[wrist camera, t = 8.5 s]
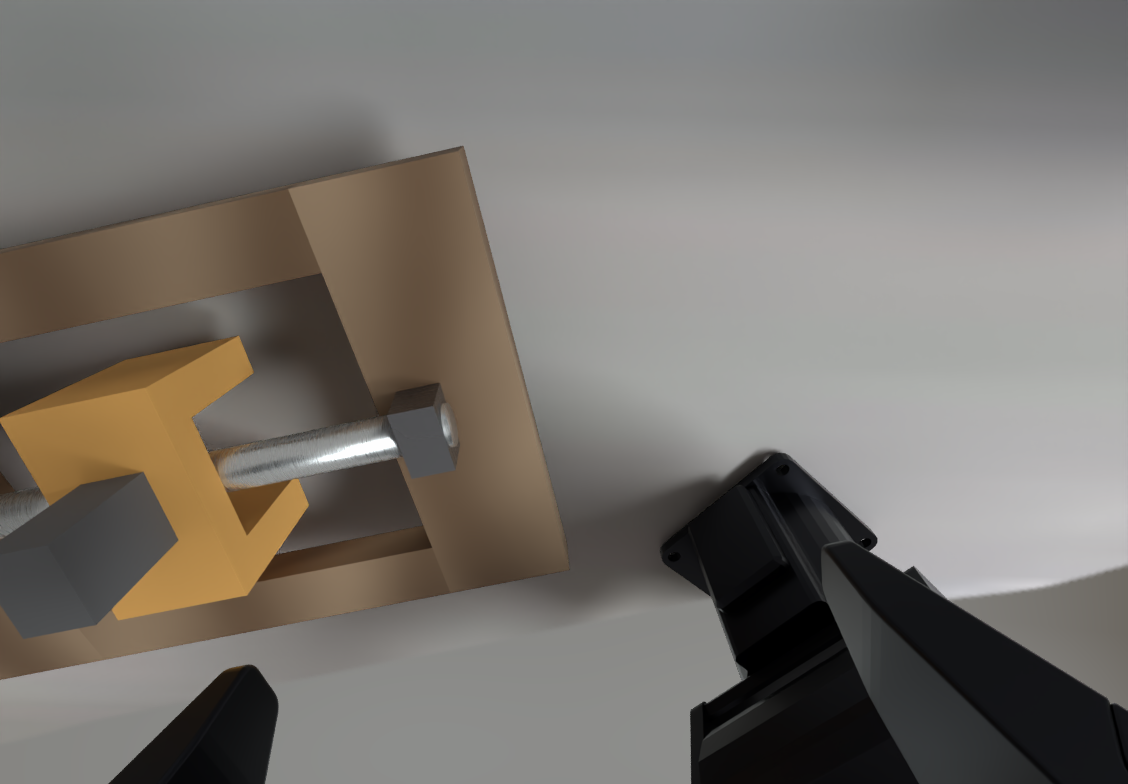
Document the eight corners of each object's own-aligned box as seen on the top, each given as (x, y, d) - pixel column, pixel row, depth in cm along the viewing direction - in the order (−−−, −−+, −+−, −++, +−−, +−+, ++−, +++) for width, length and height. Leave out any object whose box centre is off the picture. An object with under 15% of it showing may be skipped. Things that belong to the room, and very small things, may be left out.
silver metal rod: (443, 380, 16) (437, 405, 15) (464, 441, 17) (459, 469, 16) (-109, 494, 17) (-159, 527, 16) (-60, 547, 18) (-104, 582, 17)
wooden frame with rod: (472, 136, 17) (458, 151, 13) (562, 496, 23) (569, 569, 19) (-185, 283, 18) (-356, 332, 14) (70, 593, 24) (-8, 681, 20)
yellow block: (238, 335, 18) (44, 444, 11) (308, 505, 20) (183, 687, 13) (124, 360, 18) (-141, 482, 11) (206, 525, 20) (27, 717, 13)
